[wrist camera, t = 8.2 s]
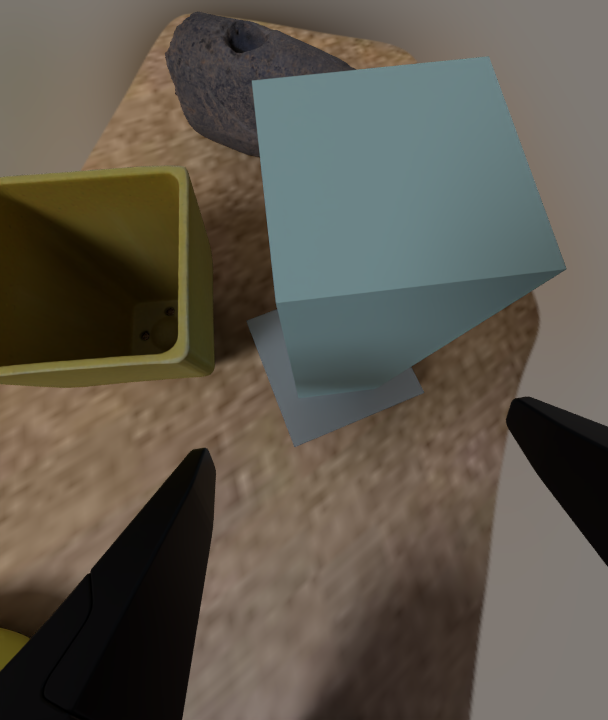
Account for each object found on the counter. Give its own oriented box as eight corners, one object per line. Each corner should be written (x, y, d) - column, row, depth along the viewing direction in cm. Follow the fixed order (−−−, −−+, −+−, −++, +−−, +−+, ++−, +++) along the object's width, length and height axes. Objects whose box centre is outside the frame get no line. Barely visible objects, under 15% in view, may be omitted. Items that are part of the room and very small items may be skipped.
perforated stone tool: (391, 150, 24) (425, 38, 17) (374, 203, 23) (403, 106, 16) (217, 105, 25) (184, -15, 18) (192, 154, 24) (147, 45, 17)
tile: (412, 396, 19) (424, 392, 17) (295, 445, 18) (294, 447, 17) (360, 290, 21) (365, 275, 19) (252, 331, 20) (246, 320, 18)
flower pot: (236, 271, 21) (187, 159, 13) (241, 392, 19) (187, 360, 11) (112, 281, 21) (-24, 176, 13) (104, 405, 19) (-66, 382, 10)
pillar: (376, 388, 17) (566, 269, 5) (298, 398, 17) (276, 303, 5) (363, 315, 18) (489, 56, 6) (289, 324, 18) (251, 80, 6)
